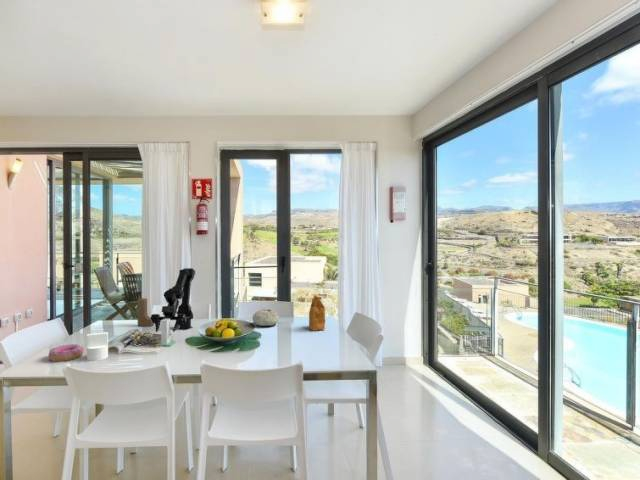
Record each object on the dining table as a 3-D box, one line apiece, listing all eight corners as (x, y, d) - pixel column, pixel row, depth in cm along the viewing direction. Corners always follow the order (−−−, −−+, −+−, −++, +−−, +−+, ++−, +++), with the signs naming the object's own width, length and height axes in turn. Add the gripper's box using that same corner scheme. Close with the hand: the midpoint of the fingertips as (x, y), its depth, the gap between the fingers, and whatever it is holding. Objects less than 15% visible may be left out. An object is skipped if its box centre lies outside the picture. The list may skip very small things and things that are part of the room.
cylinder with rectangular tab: (85, 362, 172) (85, 337, 171) (88, 356, 180) (87, 332, 179) (107, 359, 176) (107, 334, 176) (108, 353, 184) (108, 330, 184)
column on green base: (161, 342, 203) (161, 317, 203) (175, 342, 204) (175, 317, 203) (155, 346, 195) (155, 321, 195) (170, 346, 196) (170, 321, 195)
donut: (78, 351, 188) (78, 341, 188) (88, 357, 179) (87, 347, 179) (44, 358, 177) (44, 348, 177) (53, 365, 168) (53, 354, 168)
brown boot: (154, 324, 241) (154, 298, 241) (151, 326, 237) (151, 299, 237) (140, 324, 241) (140, 298, 241) (137, 326, 237) (137, 299, 236)
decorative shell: (277, 328, 234) (277, 313, 234) (250, 328, 235) (250, 313, 234) (280, 321, 252) (280, 307, 252) (255, 321, 252) (255, 307, 252)
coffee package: (321, 325, 242) (322, 293, 241) (326, 330, 230) (326, 296, 229) (307, 326, 240) (307, 294, 239) (311, 331, 227) (311, 297, 227)
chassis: (142, 337, 212) (142, 330, 212) (156, 340, 207) (156, 333, 207) (123, 342, 201) (123, 335, 201) (137, 346, 196) (137, 338, 196)
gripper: (151, 300, 203) (143, 324, 192) (185, 299, 204) (178, 324, 193) (157, 310, 211) (149, 334, 200) (189, 310, 212) (183, 334, 201)
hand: (164, 331), depth 198 cm, fingers open, 9 cm apart
